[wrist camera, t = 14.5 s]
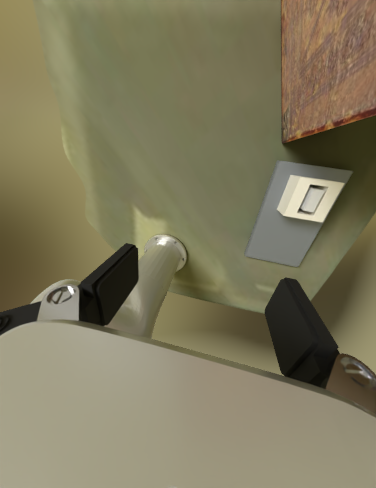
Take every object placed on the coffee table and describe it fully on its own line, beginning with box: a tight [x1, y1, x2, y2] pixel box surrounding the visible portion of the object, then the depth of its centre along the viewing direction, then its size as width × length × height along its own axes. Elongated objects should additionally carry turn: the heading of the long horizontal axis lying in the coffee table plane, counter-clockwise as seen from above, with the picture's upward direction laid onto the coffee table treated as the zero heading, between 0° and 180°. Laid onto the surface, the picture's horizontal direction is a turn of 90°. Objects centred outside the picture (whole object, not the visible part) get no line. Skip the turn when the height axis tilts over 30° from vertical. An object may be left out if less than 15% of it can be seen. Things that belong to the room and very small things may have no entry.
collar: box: [277, 175, 345, 223], centre depth 31 cm, size 7×7×4 cm
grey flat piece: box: [245, 161, 353, 267], centre depth 34 cm, size 22×13×6 cm, turn 172°
